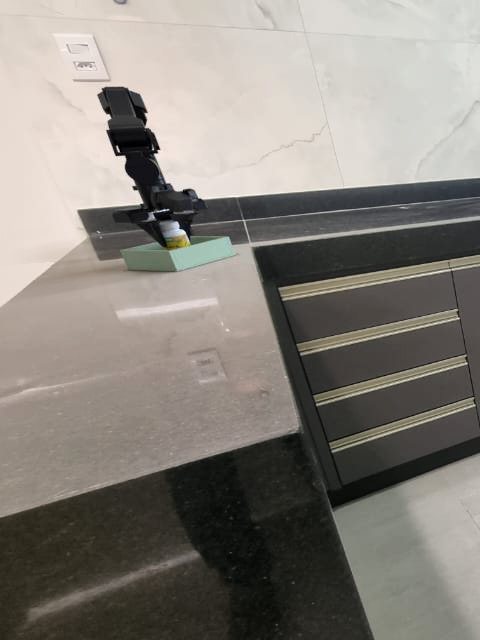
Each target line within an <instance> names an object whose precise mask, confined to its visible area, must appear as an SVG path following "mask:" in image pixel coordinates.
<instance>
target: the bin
mask: <svg viewBox="0 0 480 640" xmlns="http://www.w3.org/2000/svg"><path fill="white" fill-rule="evenodd" d="M190 244H191V245H190V246H186V247H182V248H178V249H174V250H165V249H164V247H162V246H161V245H160V244H159V243H158V242H157V241H155V242H150V243H146V244H142V245H138V246H132V247H127V248H124V249H120V250H119V252H120V254H121V256H122V258H123V260H124V263H125V265H126V266H127V269H128V270H129V271H151V272H153V271H155V272H156V271H157V272H158V271H159V272H181V271H183V270H188V269H191V268H195V267H198V266H202V265H205V264H209V263H212V262H216V261H219V260H222V259H226V258H230V257H234V256H236V252H235V250H234V247H233V244H232V242H231V239H230V237H229V236H215V235H214V236H209V235H208V236H207V235H205V236H204V235H199V236H198V235H195V236H190Z"/></svg>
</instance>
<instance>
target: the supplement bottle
mask: <svg viewBox="0 0 480 640" xmlns="http://www.w3.org/2000/svg"><path fill="white" fill-rule="evenodd" d="M172 221H173V220H172ZM163 222H164V223H160V225H159V226H160V229H161V231H162V233H163V236H164V238H165V240H166V243H167V247H166V248H164V249H165V250H174V249H178V248H182V247H186V246H190V245H191V244H190V241H189V239H188V237H187V234H186V232H185V231H184V230H181V229H179V224H178V222H176V221H173V222H166V221H163Z"/></svg>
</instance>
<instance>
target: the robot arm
mask: <svg viewBox="0 0 480 640" xmlns="http://www.w3.org/2000/svg"><path fill="white" fill-rule="evenodd" d="M96 96H97V98H98V101H99V103H100V105H101V109H102V110H103V112H104V113H105V115H109V116H110V119H108V120H107V127H108V129H105V131H106V134H107V137H108V140H109V142H110V145H111V148H112V151H113V153H114V155H115V157H124V158H125V162H124V171H125V173H126V174H127V176H128V177H129V178H130V179H132V180H133V183H134V185H131V187H132V190H133V191H134V192H135V191H138V195H139V196H140V198H141V201H142V203H139V206H140V207H125V208H119V209H113V211H112V214H111V217H112V219H113V221H114V223H115V224H116V223H117V224H131V225H136V226H138V227H139V228H140V229H141V230H143V231H144V232H145V233H146V234H147V235H149V236H150V237H151V238H152V239H153V240H154V241H155V242H158V243H159V244H160V245H161V246H162V247H164V248H166V247H167V243H166V240H165V238H164V236H163V233H162V231H161V229H160V226H159V225H160V223H164V222H173V221H176V222H178V224H179V229H181V230H184V231H185V232H186V234H187V237H188V239H189V241H190V236H196V235H195V233H194V230H193V228H192V224H193V223H195V222H196V220H195V218H194V217H195V216H196V215H198V212H199V211H204V210H208V209H209V208H208V205H207V203H206V200H205V201H204V199H203V198H202V197H199V196H198V194H197V192H196V189H193V188H190V187H189V188H184V189H182V190H179V191H178V190H176V189H175V188H174V186H173V185H172V183H170V182H166V178H165V176H164V174H163V171H162V169H161V167H160V164H159V161H158V159H157V157H156V155H157V154H160V153H159V151H161V147H160V145H159V142H158V139H157V136H156V133H155V132H153V131H152V129H151V128H150V127H147V122H148V116H147V115H146V114H149V112H148V108H147V107H146V104H145V101H144V99H143V97H142V95H141V93H138V92H135V91H134V90H130V89H129V88H128V87H126V86H104V87H101V92H98V93H97V94H96Z"/></svg>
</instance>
